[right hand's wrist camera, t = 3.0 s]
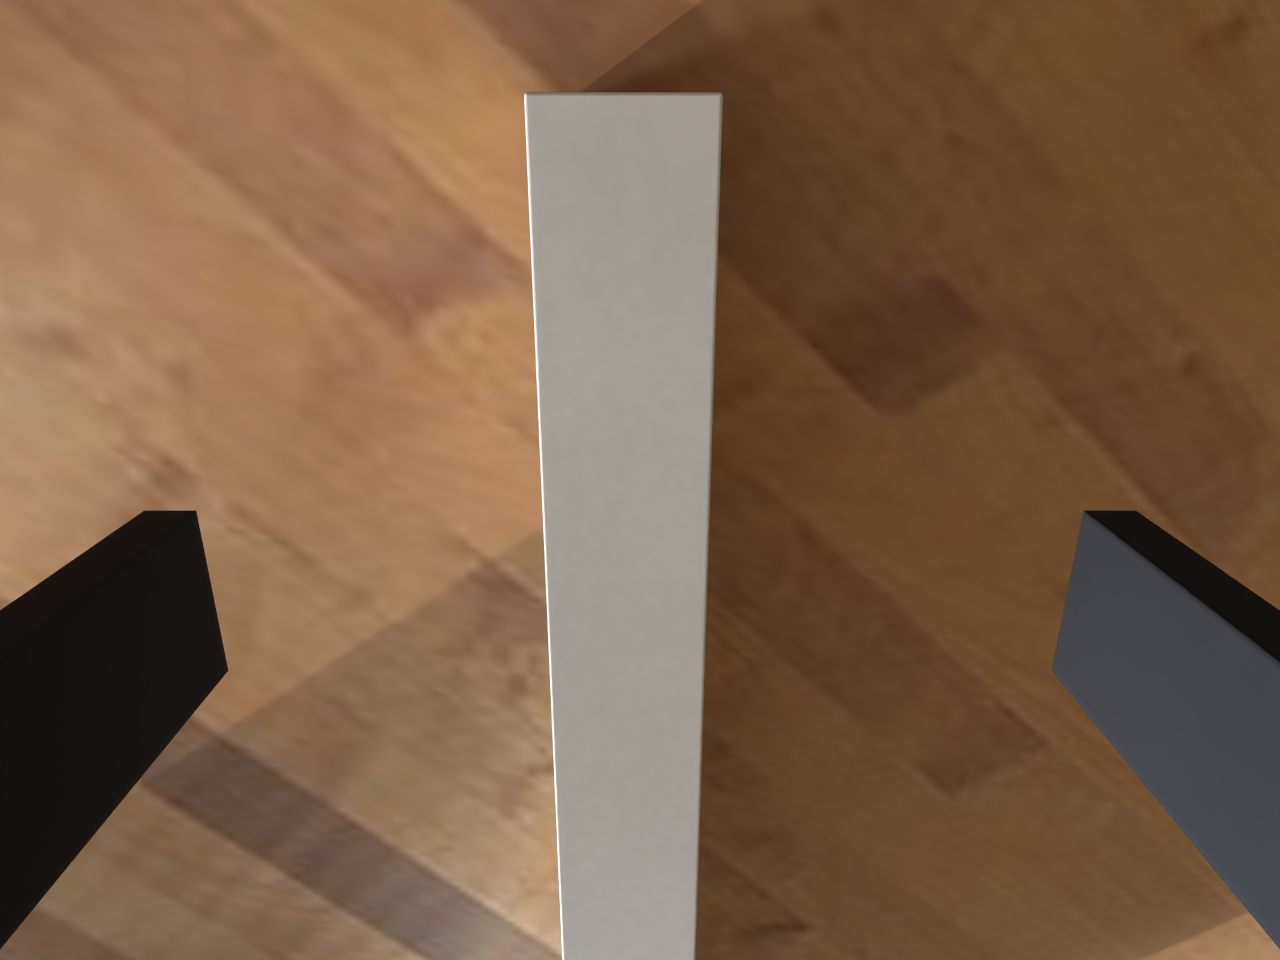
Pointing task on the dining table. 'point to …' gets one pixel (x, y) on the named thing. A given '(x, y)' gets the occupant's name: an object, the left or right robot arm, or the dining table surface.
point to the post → (626, 497)
